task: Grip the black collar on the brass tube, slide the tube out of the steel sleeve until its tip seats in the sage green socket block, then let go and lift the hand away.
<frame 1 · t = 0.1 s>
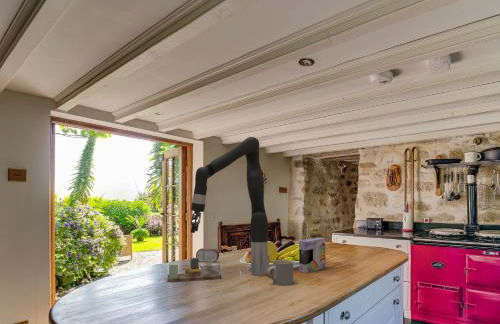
hand: (194, 231, 188), 22 cm above the counter, tool pointing down, fingers open, 8 cm apart
socket block: (173, 270, 173), point 5 cm above the counter
coffee mug: (279, 283, 166), on the counter
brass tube: (202, 265, 177), point 6 cm above the counter, slide at 0.0 cm
tin: (207, 262, 219), on the counter
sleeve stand: (194, 278, 175), on the counter
cake pan box: (312, 271, 193), on the counter
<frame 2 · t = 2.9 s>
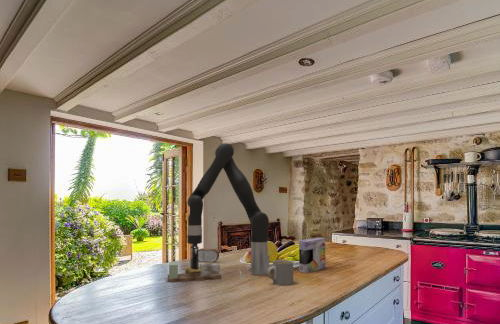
hand: (194, 267, 176), 5 cm above the counter, tool pointing down, fingers closed on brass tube, 3 cm apart
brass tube: (202, 265, 177), point 6 cm above the counter, slide at 0.0 cm, touching gripper
everything else where it was.
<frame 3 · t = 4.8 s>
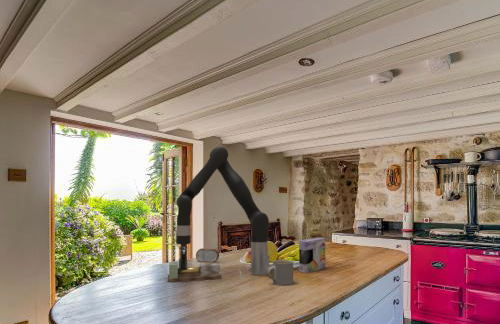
hand: (182, 268, 175), 5 cm above the counter, tool pointing down, fingers closed on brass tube, 3 cm apart
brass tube: (190, 266, 176), point 6 cm above the counter, slide at 5.8 cm, touching gripper
everything else where it was.
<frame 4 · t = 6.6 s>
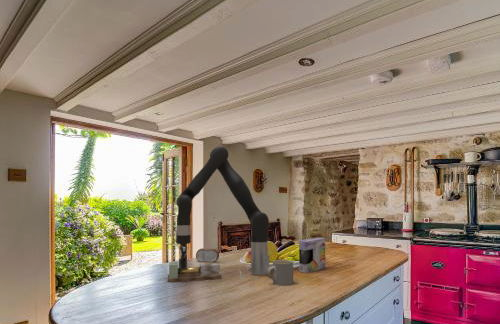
hand: (183, 266, 175), 6 cm above the counter, tool pointing down, fingers open, 8 cm apart
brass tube: (190, 266, 176), point 6 cm above the counter, slide at 5.8 cm
everything else where it was.
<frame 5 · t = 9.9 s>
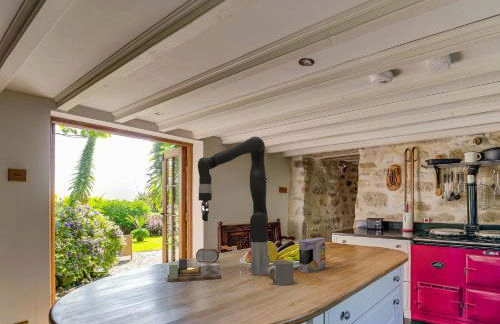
hand: (204, 220, 195), 28 cm above the counter, tool pointing down, fingers open, 8 cm apart
nothing on the counter moved.
at the end: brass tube slide at 5.8 cm; the gripper is holding nothing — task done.
